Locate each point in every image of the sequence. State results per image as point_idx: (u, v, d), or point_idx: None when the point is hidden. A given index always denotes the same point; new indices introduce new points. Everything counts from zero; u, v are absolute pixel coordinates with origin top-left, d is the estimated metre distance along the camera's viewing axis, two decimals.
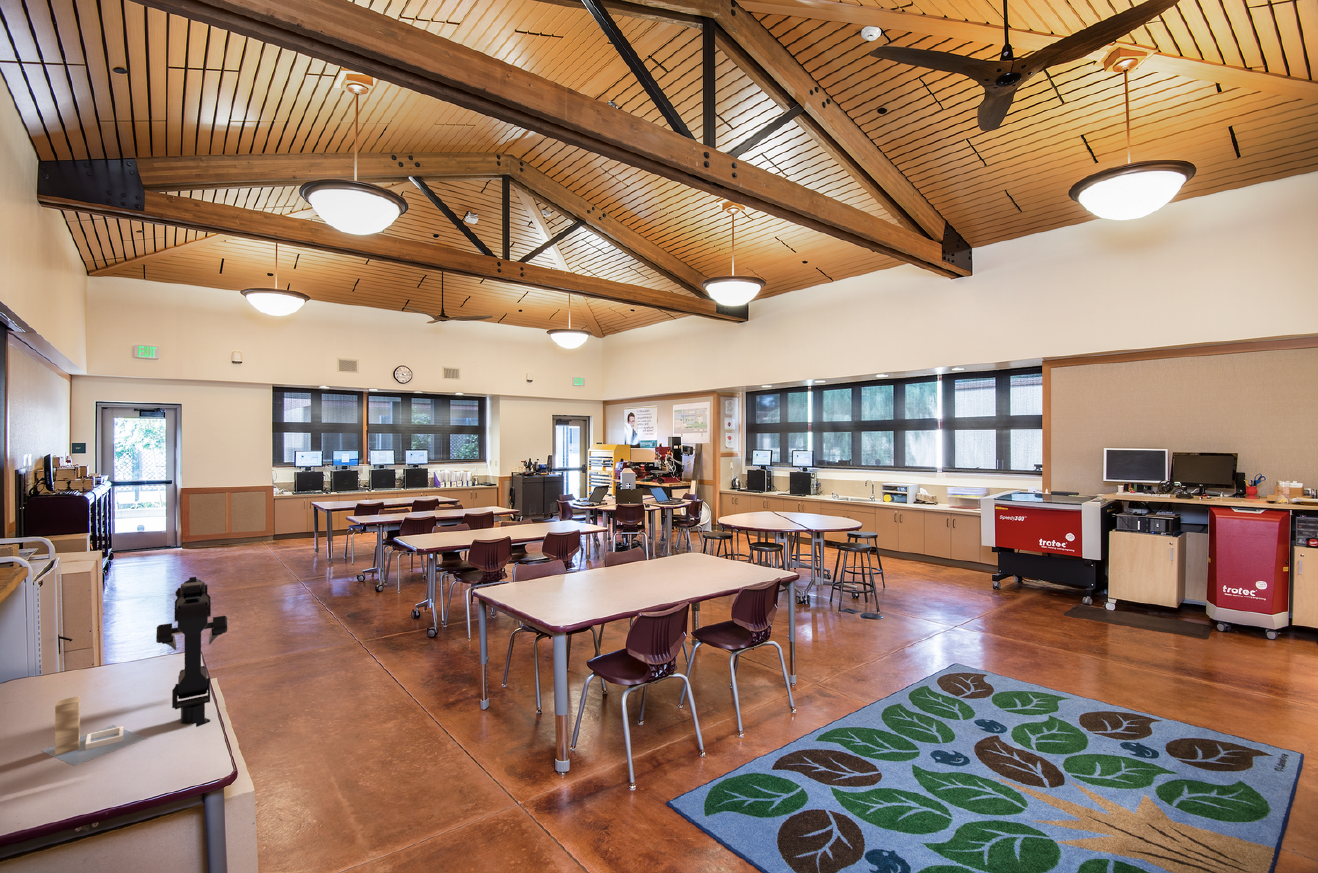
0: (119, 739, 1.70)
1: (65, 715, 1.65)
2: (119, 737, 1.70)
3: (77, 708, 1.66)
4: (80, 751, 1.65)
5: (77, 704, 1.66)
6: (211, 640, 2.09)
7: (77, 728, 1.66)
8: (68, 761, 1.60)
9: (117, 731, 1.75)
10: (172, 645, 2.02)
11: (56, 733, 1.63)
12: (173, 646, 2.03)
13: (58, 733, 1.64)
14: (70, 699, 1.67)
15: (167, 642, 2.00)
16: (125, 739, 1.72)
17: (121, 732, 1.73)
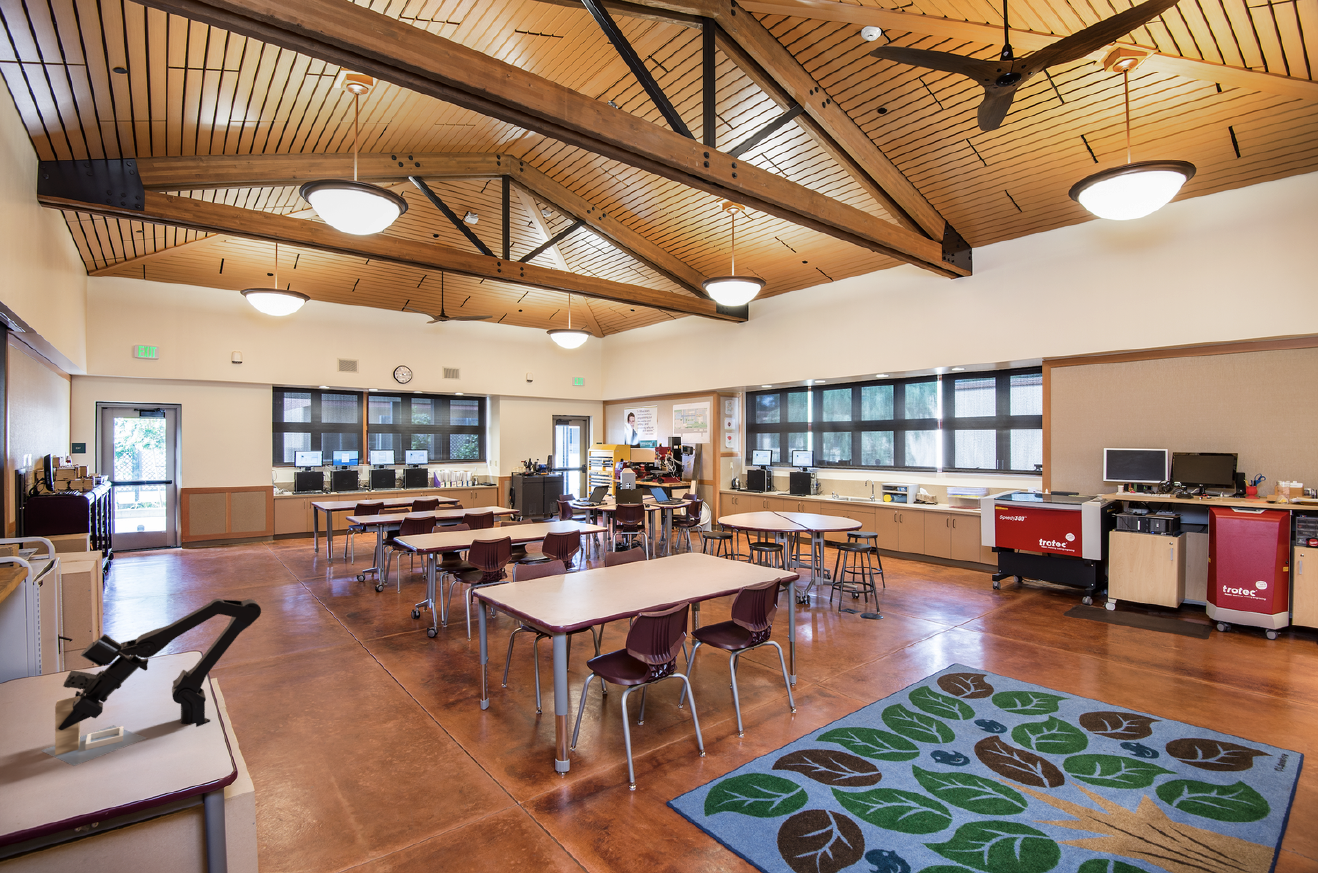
0: (119, 739, 1.70)
1: (65, 715, 1.65)
2: (119, 737, 1.70)
3: None
4: (80, 751, 1.65)
5: None
6: None
7: (77, 728, 1.66)
8: (68, 761, 1.60)
9: (117, 731, 1.75)
10: None
11: (56, 733, 1.63)
12: None
13: (58, 733, 1.64)
14: (70, 699, 1.67)
15: None
16: (125, 739, 1.72)
17: (121, 732, 1.73)
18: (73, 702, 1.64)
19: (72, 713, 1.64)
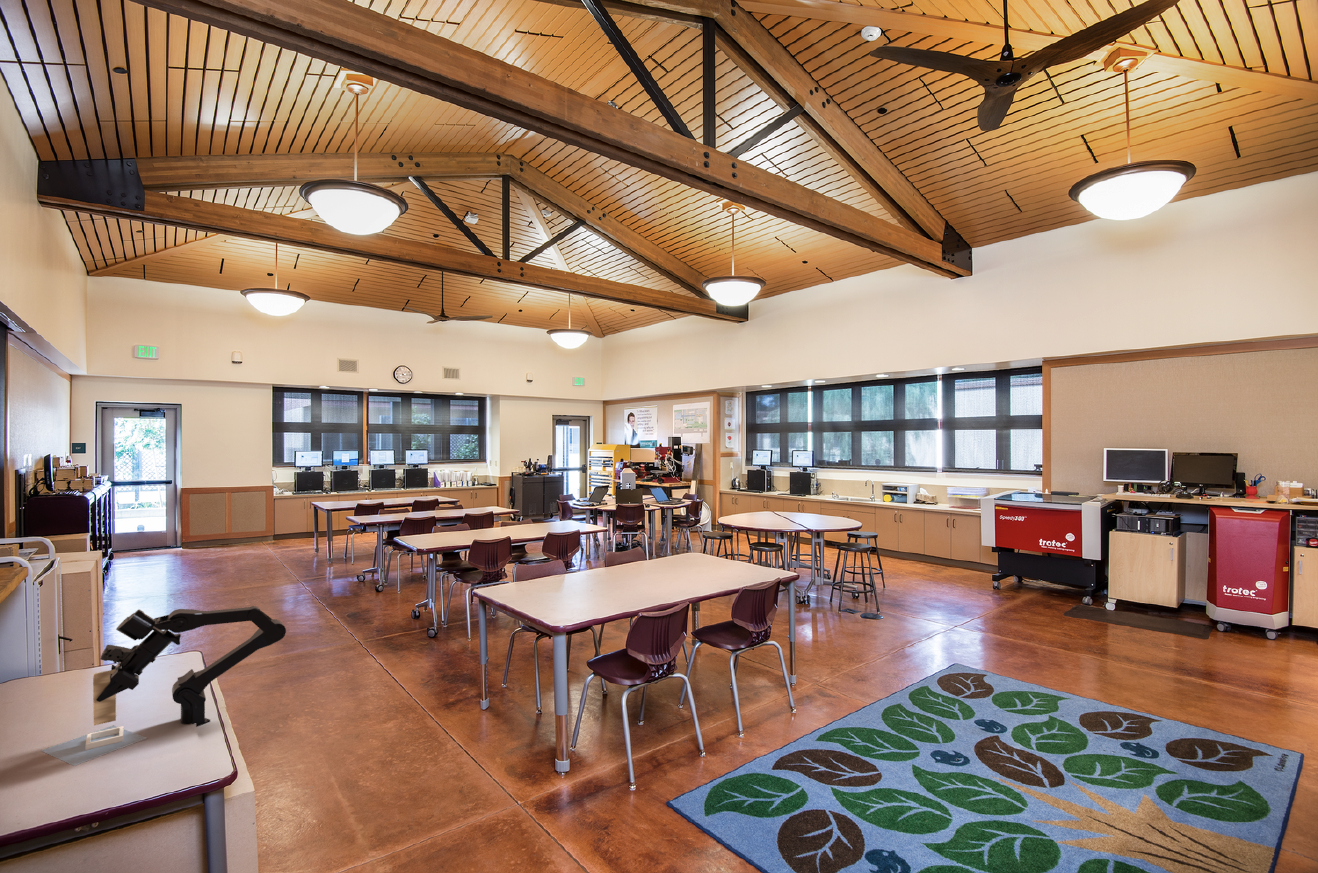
0: (119, 739, 1.70)
1: (103, 687, 1.69)
2: (119, 737, 1.70)
3: None
4: (80, 751, 1.65)
5: None
6: None
7: (114, 700, 1.71)
8: (68, 761, 1.60)
9: (117, 731, 1.75)
10: None
11: (94, 704, 1.68)
12: None
13: (96, 705, 1.69)
14: (107, 672, 1.72)
15: None
16: (125, 739, 1.72)
17: (121, 732, 1.73)
18: (110, 674, 1.69)
19: (109, 685, 1.69)
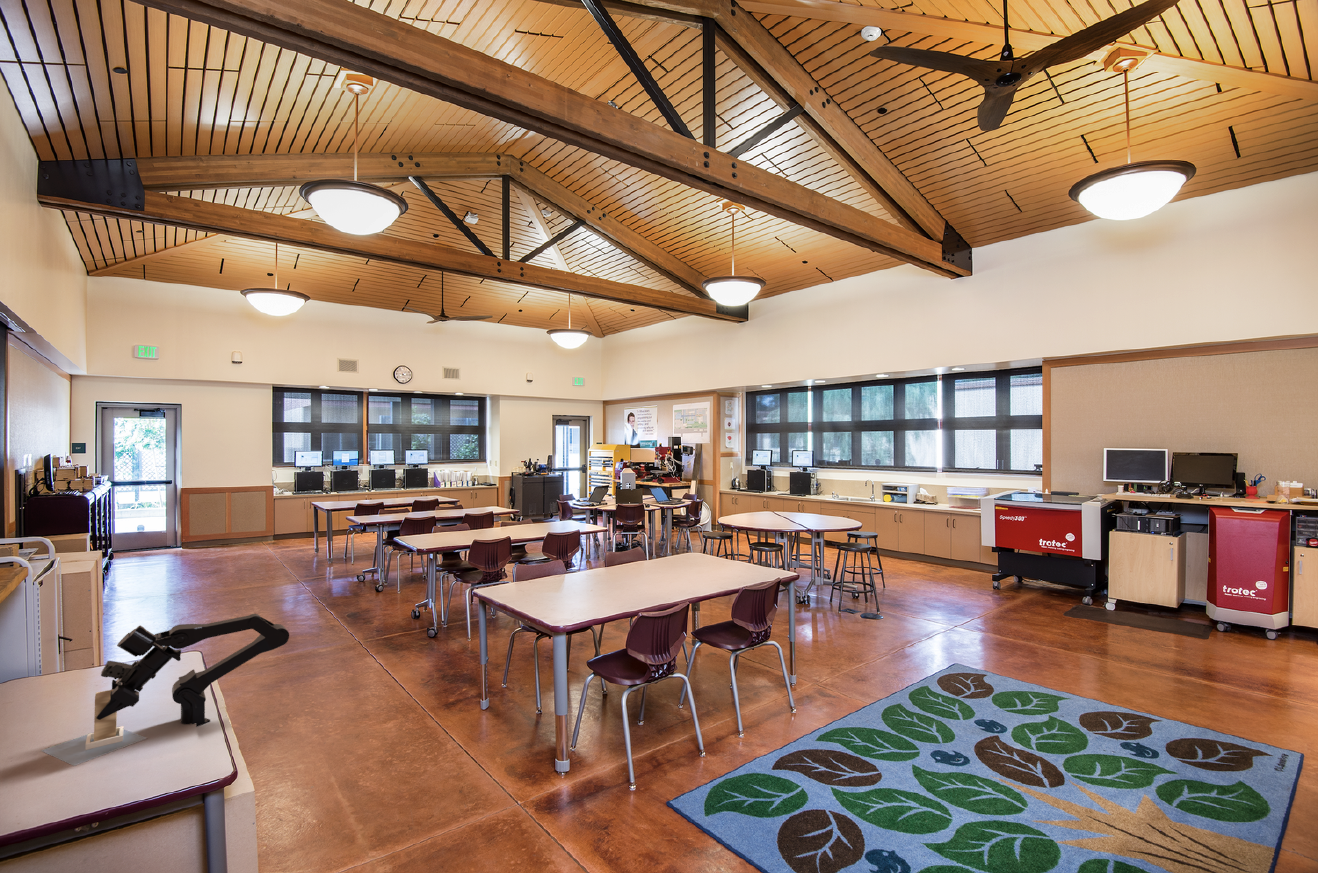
0: (119, 739, 1.70)
1: None
2: (119, 737, 1.70)
3: None
4: (80, 751, 1.65)
5: None
6: None
7: (115, 720, 1.71)
8: (68, 761, 1.60)
9: (117, 731, 1.75)
10: None
11: (95, 724, 1.68)
12: None
13: (97, 724, 1.69)
14: (108, 691, 1.72)
15: None
16: (125, 739, 1.72)
17: (121, 732, 1.73)
18: None
19: (110, 703, 1.68)
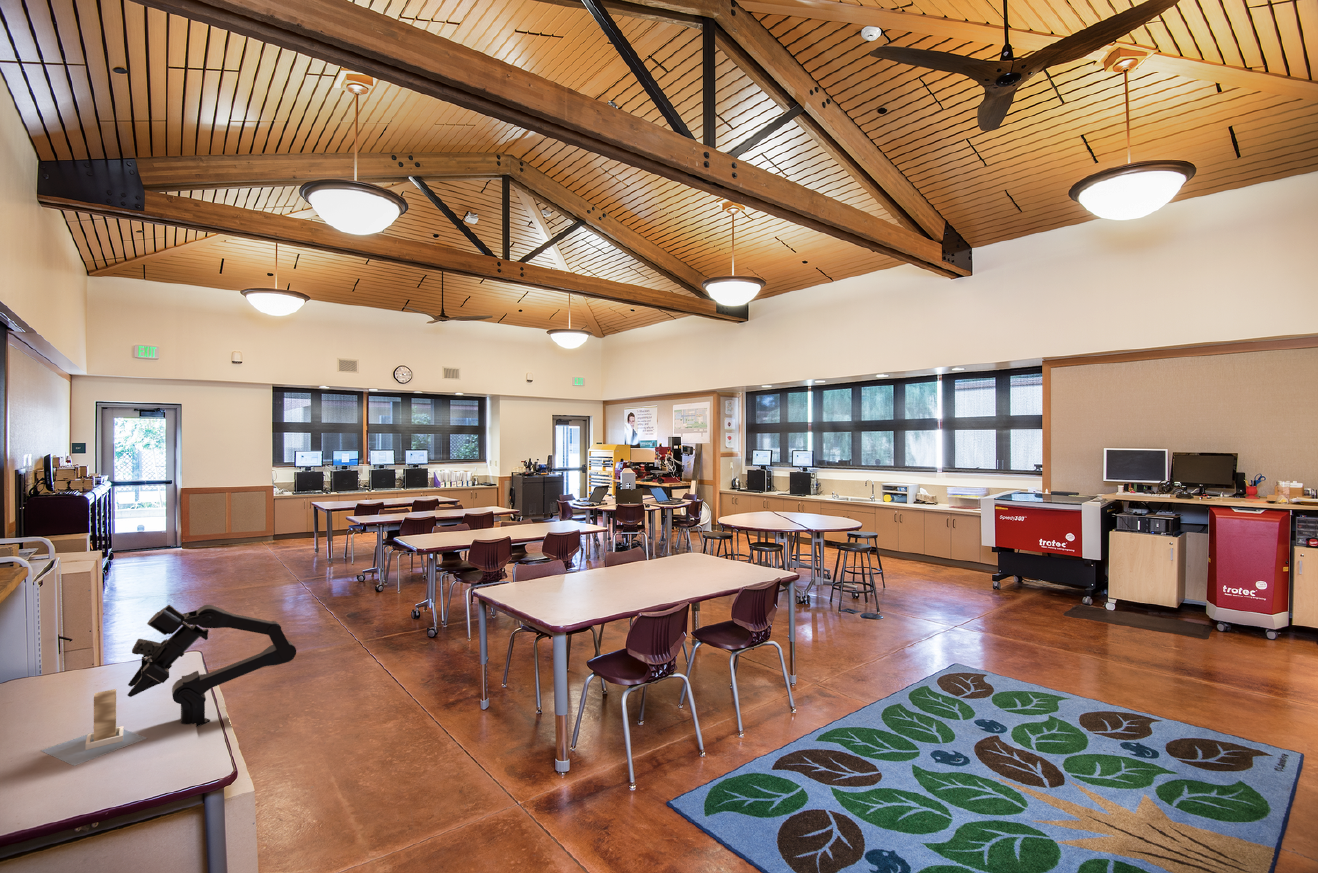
0: (119, 739, 1.70)
1: (103, 707, 1.69)
2: (119, 737, 1.70)
3: (114, 700, 1.71)
4: (80, 751, 1.65)
5: (114, 696, 1.71)
6: None
7: (114, 720, 1.71)
8: (68, 761, 1.60)
9: (117, 731, 1.75)
10: None
11: (94, 725, 1.68)
12: None
13: (97, 725, 1.69)
14: (107, 692, 1.72)
15: None
16: (125, 739, 1.72)
17: (121, 732, 1.73)
18: (141, 670, 1.71)
19: (140, 680, 1.71)
